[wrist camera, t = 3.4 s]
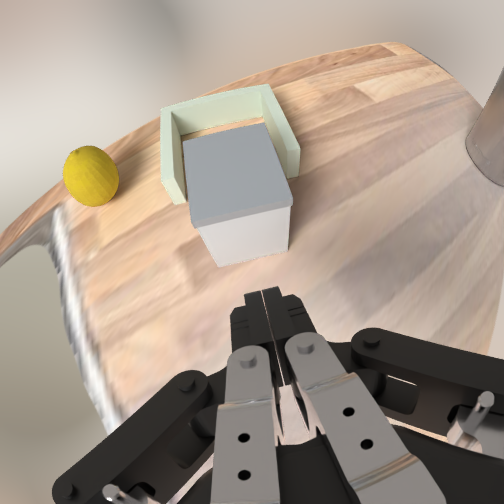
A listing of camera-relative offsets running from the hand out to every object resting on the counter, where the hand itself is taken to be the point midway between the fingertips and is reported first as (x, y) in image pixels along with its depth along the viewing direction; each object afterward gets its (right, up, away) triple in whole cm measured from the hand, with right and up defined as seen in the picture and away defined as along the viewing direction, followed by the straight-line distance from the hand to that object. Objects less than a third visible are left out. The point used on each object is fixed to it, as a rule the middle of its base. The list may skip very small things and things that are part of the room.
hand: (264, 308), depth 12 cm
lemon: (-16, +8, +16) cm, 25 cm away
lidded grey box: (-1, +5, +13) cm, 14 cm away
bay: (-3, +13, +17) cm, 22 cm away
